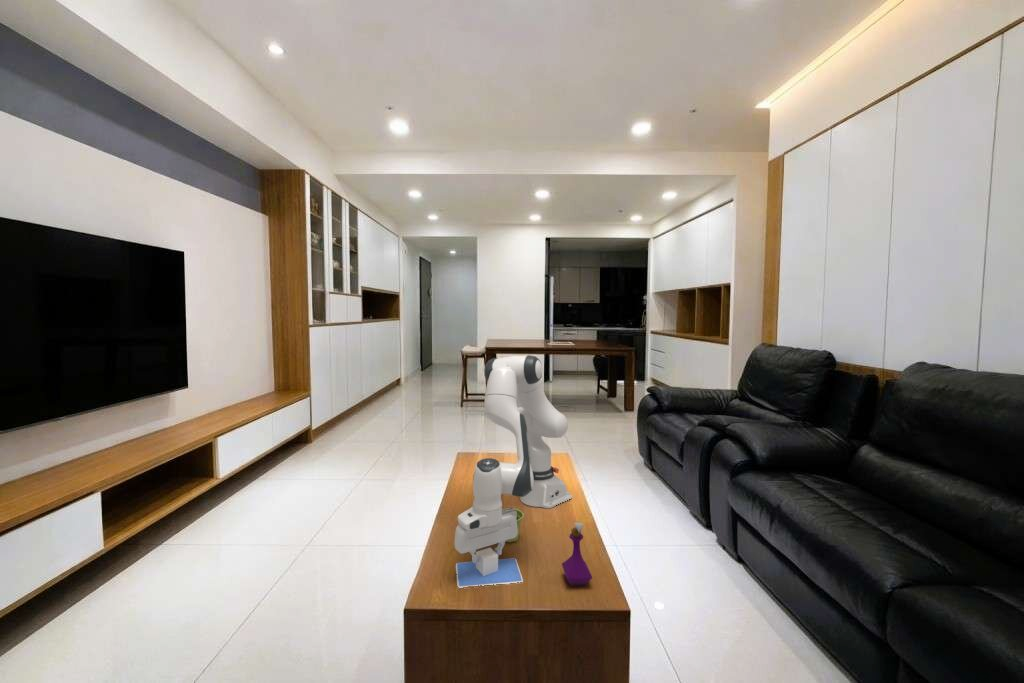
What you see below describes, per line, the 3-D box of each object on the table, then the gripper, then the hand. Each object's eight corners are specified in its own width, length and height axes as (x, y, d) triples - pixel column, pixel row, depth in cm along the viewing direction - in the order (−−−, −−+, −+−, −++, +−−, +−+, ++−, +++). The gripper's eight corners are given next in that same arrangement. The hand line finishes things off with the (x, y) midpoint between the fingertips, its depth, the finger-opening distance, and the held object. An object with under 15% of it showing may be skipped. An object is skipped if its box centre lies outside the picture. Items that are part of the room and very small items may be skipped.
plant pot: (526, 534, 153) (526, 510, 153) (518, 547, 144) (518, 522, 144) (502, 529, 156) (502, 506, 156) (492, 542, 147) (492, 517, 147)
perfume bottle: (561, 573, 130) (562, 516, 129) (585, 573, 131) (587, 515, 130) (566, 589, 123) (568, 528, 122) (592, 588, 123) (593, 528, 122)
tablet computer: (515, 560, 138) (515, 556, 138) (523, 585, 126) (523, 580, 126) (455, 566, 135) (455, 562, 134) (457, 591, 122) (457, 587, 122)
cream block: (490, 562, 134) (490, 547, 134) (498, 571, 130) (498, 555, 130) (475, 567, 132) (476, 551, 131) (483, 576, 127) (483, 560, 127)
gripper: (511, 502, 138) (510, 544, 139) (452, 517, 127) (452, 562, 128) (521, 510, 132) (521, 553, 133) (461, 526, 122) (460, 573, 123)
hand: (486, 558), depth 131 cm, fingers open, 6 cm apart
